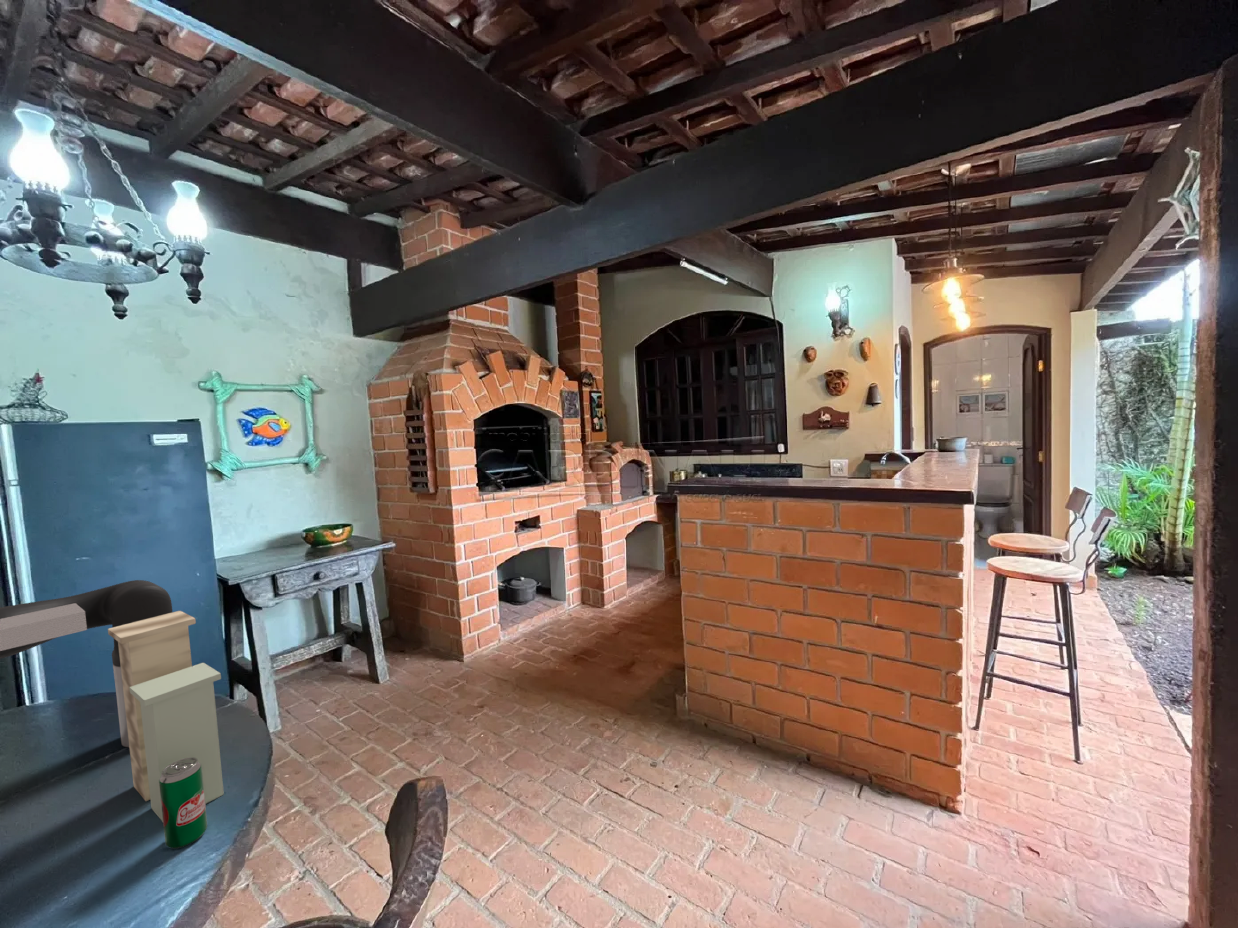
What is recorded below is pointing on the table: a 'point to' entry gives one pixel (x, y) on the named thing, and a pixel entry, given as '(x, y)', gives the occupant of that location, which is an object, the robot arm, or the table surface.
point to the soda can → (183, 802)
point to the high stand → (149, 672)
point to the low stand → (181, 726)
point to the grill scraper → (41, 625)
